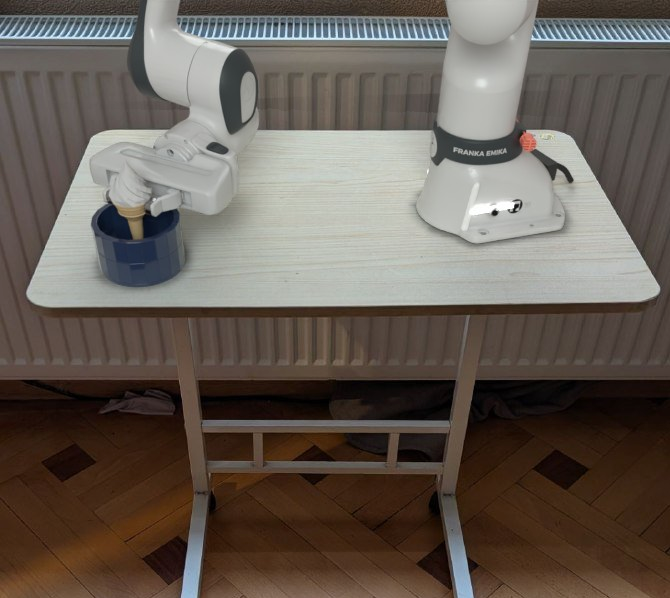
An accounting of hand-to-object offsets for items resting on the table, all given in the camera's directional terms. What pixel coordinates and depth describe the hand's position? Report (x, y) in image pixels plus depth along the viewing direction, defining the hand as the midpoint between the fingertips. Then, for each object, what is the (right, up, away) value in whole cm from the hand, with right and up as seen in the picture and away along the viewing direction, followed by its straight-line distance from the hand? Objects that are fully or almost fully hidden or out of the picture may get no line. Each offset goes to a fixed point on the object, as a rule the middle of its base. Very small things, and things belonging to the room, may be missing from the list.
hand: (128, 204), depth 109 cm
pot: (0, -6, +7) cm, 10 cm away
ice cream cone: (0, -6, +7) cm, 9 cm away
